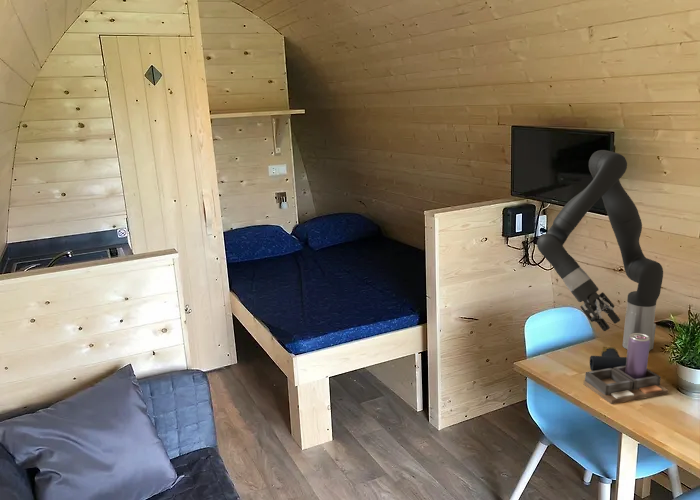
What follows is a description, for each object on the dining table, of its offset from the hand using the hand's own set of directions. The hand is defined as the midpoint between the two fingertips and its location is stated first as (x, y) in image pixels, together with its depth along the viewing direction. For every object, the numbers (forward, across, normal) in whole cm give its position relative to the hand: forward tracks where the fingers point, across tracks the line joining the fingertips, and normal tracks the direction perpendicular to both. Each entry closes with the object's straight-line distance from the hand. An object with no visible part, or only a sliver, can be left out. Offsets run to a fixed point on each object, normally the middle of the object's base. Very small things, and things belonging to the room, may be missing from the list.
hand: (612, 325), depth 187 cm
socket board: (+18, -5, +7) cm, 20 cm away
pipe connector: (+12, +8, +14) cm, 20 cm away
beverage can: (+18, 0, +6) cm, 18 cm away
